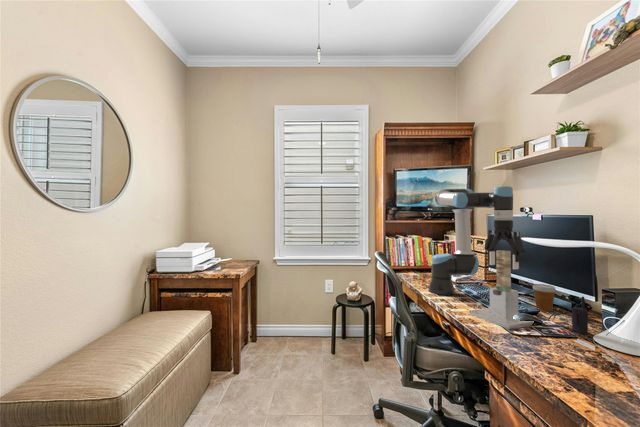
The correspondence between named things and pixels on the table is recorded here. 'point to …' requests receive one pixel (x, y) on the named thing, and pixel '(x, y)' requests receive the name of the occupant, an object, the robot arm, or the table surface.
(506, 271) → the post
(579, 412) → the table surface
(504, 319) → the stand
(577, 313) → the two-way radio
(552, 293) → the disposable coffee cup
